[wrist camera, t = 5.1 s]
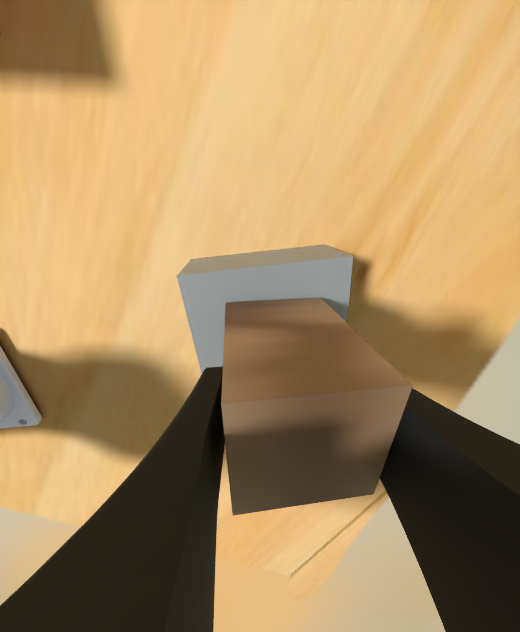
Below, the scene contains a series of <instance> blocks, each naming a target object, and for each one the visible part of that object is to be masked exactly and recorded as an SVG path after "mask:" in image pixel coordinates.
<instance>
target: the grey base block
mask: <svg viewBox="0 0 520 632" xmlns="http://www.w3.org/2000/svg"><path fill="white" fill-rule="evenodd" d="M352 264H353V256H352V255H350V254H347V253H344V252H342V251H339V250H337V249H334V248H332V247H329V246H326V245H316V246H307V247H298V248H288V249H279V250H270V251H261V252H252V253H243V254H234V255H225V256H215V257H206V258H197V259H191V260H190V261H189V262H188V264H187V265H186V266H185V267H184V268H183V269H182V271H181V272H180V273H179V274H178V275H177V278H178V282H179V286H180V290H181V294H182V298H183V302H184V306H185V310H186V314H187V318H188V322H189V325H190V329H191V333H192V337H193V341H194V345H195V349H196V353H197V357H198V361H199V365H200V369H201V373H203V371H204V370H205V369H206V368H207V367H222V366H223V350H224V327H225V303H228V302H249V301H269V300H289V299H309V298H321V299H322V300H323V301H324V302H326V303H327V304H328V305H329V306H330V307H331V308H332V309H333V310H334V311H335V312H336V313H337V314H338V315H339V316H340V317H341V318H342V319H343V320H344V321H346V322H347V320H348V308H349V297H350V286H351V275H352Z"/></svg>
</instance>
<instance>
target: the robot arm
mask: <svg viewBox="0 0 520 632" xmlns="http://www.w3.org/2000/svg"><path fill="white" fill-rule="evenodd" d="M222 374H223V366H222V367H207V368H206V369H205V370H204V371H203V373H202V375H201V377H200V378H199V380H198V382H197V384H196V386H195V387H194V389H193V391H192V392H191V394H190V396H189V397H188V399H187V400H186V402H185V403H184V405H183V406H182V408H181V409H180V411H179V412H178V414H177V415H176V417H175V418H174V419H173V421H172V422H171V424H170V425H169V426H168V428H167V429H166V430H165V432H164V433H163V435H162V436H161V437H160V439H159V440H158V441H157V442H156V444H155V445H154V446H153V448H152V449H151V450H150V451H149V453H148V454H147V455H146V456H145V457H144V459H143V460H142V461H141V462H140V463H139V465H138V466H137V467H136V468H135V469H134V471H133V472H132V473H131V474H130V475H129V476H128V477H127V478H126V480H125V481H124V482H123V483H122V484H121V485H120V486H119V487H118V488H117V490H116V491H115V492H114V493H113V494H112V495H111V496H110V497H109V498H108V500H107V501H106V502H105V503H104V504H103V505H102V506H101V507H100V508H99V509H98V510H97V511H96V512H95V513H94V514H93V515H92V516H91V518H90V519H89V520H88V521H87V522H86V523H85V524H84V525H83V526H82V527H81V528H80V529H79V530H78V531H77V532H76V533H75V534H74V535H73V536H72V537H71V538H70V539H69V540H68V541H67V542H66V543H65V544H64V545H63V546H62V547H61V548H60V549H59V550H58V551H57V552H56V553H55V554H54V555H53V556H52V557H51V558H50V559H49V560H47V562H46V563H45V564H44V565H42V567H40V568H39V569H38V570H37V571H36V572H35V573H34V574H33V575H32V576H31V577H30V578H29V579H28V580H27V581H26V582H25V583H24V584H23V585H22V586H21V587H20V588H19V589H18V590H17V591H15V592H14V593H13V594H12V595H11V596H10V597H9V598H8V599H7V600H6V601H5V602H4V603H3V604H1V605H0V632H213V619H214V585H215V556H216V529H217V510H218V499H219V490H220V481H221V472H222V463H223V454H224V445H225V436H224V426H223V417H222V407H221V397H222ZM41 420H42V417H41V415H40V413H39V411H38V410H37V408H36V406H35V405H34V403H33V401H32V399H31V398H30V396H29V394H28V393H27V391H26V389H25V387H24V386H23V384H22V382H21V381H20V379H19V377H18V375H17V374H16V372H15V370H14V369H13V367H12V365H11V363H10V362H9V360H8V358H7V357H6V355H5V353H4V352H3V350H2V348H1V346H0V429H1V428H12V427H24V426H34V425H37V424H39V422H40V421H41ZM380 479H381V481H382V483H383V485H384V487H385V489H386V491H387V493H388V495H389V497H390V499H391V502H392V504H393V506H394V508H395V510H396V513H397V514H398V517H399V519H400V522H401V524H402V526H403V528H404V530H405V533H406V535H407V537H408V540H409V542H410V544H411V547H412V549H413V552H414V554H415V556H416V559H417V561H418V563H419V566H420V568H421V570H422V573H423V575H424V578H425V580H426V583H427V585H428V588H429V590H430V593H431V595H432V598H433V600H434V603H435V605H436V608H437V610H438V613H439V615H440V618H441V620H442V623H443V626H444V628H445V631H446V632H520V444H517V443H515V442H513V441H511V440H509V439H507V438H504V437H502V436H500V435H498V434H496V433H494V432H492V431H490V430H488V429H486V428H484V427H482V426H480V425H478V424H476V423H474V422H472V421H470V420H468V419H466V418H464V417H462V416H460V415H458V414H457V413H455V412H453V411H451V410H449V409H448V408H446V407H444V406H442V405H440V404H439V403H437V402H435V401H433V400H431V399H430V398H428V397H426V396H425V395H423V394H421V393H419V392H418V391H416V390H414V389H413V388H412V389H411V392H410V395H409V398H408V400H407V403H406V406H405V409H404V411H403V414H402V417H401V420H400V422H399V425H398V428H397V431H396V433H395V436H394V439H393V442H392V445H391V447H390V450H389V453H388V456H387V458H386V461H385V464H384V467H383V469H382V472H381V475H380Z"/></svg>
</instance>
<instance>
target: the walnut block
mask: <svg viewBox="0 0 520 632" xmlns="http://www.w3.org/2000/svg"><path fill="white" fill-rule="evenodd" d="M412 387H413V385H412V384H411V383H410V382H409V381H408V380H407V379H406V378H405V377H403V376H402V375H401V374H400V373H399V372H398V371H397V370H396V369H395V368H394V367H393V366H392V365H391V364H390V363H389V362H388V361H387V360H386V359H385V358H383V357H382V356H381V355H380V354H379V353H378V352H377V351H376V350H375V349H374V348H373V347H372V346H371V345H370V344H369V343H368V342H367V341H366V340H365V339H363V338H362V337H361V336H360V335H359V334H358V333H357V332H356V331H355V330H354V329H353V328H352V327H351V326H350V325H349V324H348V323H347V322H346V321H344V320H343V319H342V318H341V317H340V316H339V315H338V314H337V313H336V312H335V311H334V310H333V309H332V308H331V307H330V306H329V305H328V304H327V303H326V302H324V301H323V300H322V299H321V298H309V299H289V300H269V301H249V302H228V303H225V327H224V350H223V374H222V397H221V407H222V417H223V426H224V436H225V445H226V455H227V464H228V474H229V483H230V493H231V502H232V512H233V515H239V514H245V513H252V512H259V511H265V510H272V509H278V508H285V507H292V506H298V505H305V504H311V503H318V502H325V501H331V500H338V499H344V498H351V497H358V496H364V495H371V494H374V491H375V489H376V486H377V483H378V480H379V478H380V475H381V472H382V469H383V467H384V464H385V461H386V458H387V456H388V453H389V450H390V447H391V445H392V442H393V439H394V436H395V433H396V431H397V428H398V425H399V422H400V420H401V417H402V414H403V411H404V409H405V406H406V403H407V400H408V398H409V395H410V392H411V389H412Z"/></svg>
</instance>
